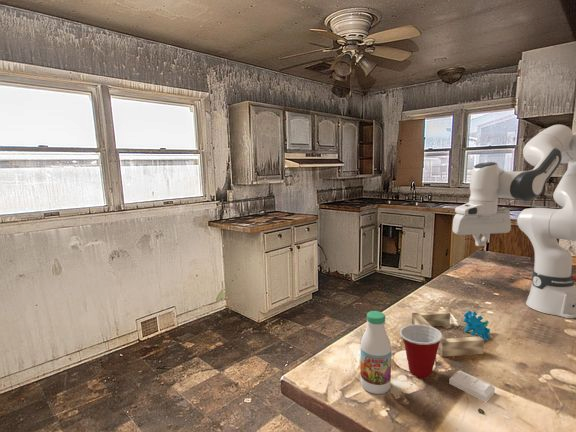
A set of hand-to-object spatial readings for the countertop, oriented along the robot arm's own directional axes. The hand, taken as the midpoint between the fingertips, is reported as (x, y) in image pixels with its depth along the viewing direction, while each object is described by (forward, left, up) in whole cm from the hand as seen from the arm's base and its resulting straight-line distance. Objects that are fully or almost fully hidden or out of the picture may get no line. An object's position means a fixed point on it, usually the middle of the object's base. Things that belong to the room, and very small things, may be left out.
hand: (480, 245), depth 119 cm
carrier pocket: (+21, +14, -27) cm, 37 cm away
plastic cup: (+37, +30, -27) cm, 55 cm away
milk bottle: (+51, +34, -27) cm, 67 cm away
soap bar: (+27, +38, -28) cm, 54 cm away
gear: (+9, +14, -27) cm, 32 cm away
